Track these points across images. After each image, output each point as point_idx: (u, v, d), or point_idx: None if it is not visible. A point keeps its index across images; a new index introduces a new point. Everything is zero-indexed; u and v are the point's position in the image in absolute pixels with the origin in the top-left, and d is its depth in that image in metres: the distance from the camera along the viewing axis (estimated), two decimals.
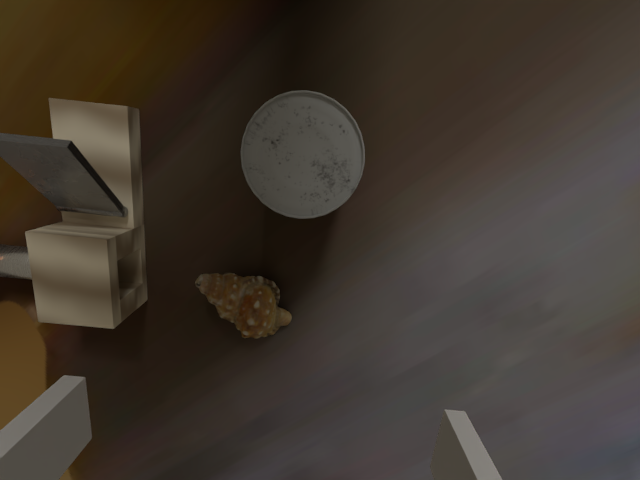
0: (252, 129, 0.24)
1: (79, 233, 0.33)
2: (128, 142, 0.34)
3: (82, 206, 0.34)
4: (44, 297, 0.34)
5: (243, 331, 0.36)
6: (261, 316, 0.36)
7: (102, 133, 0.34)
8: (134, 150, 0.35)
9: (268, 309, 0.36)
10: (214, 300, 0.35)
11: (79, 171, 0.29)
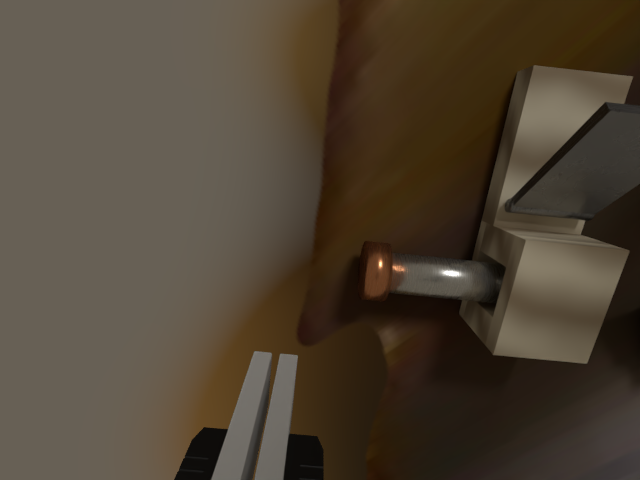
0: None
1: (573, 241, 0.25)
2: None
3: (552, 206, 0.27)
4: (514, 324, 0.26)
5: None
6: None
7: (586, 111, 0.26)
8: None
9: None
10: None
11: None
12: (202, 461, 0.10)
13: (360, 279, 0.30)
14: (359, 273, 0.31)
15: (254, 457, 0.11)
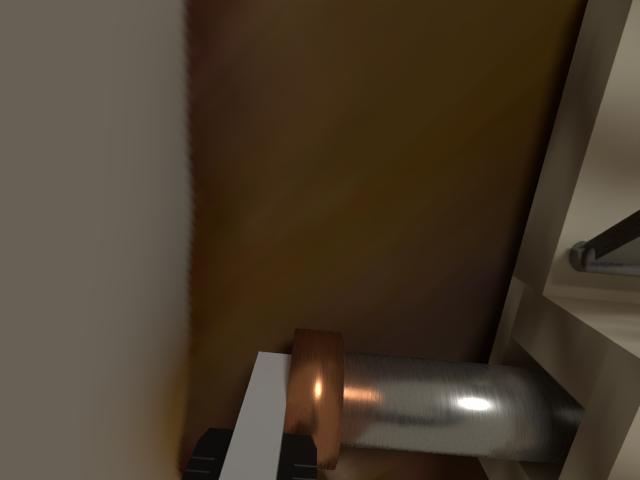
0: None
1: None
2: None
3: None
4: None
5: None
6: None
7: None
8: None
9: None
10: None
11: None
12: (209, 461, 0.10)
13: None
14: None
15: None
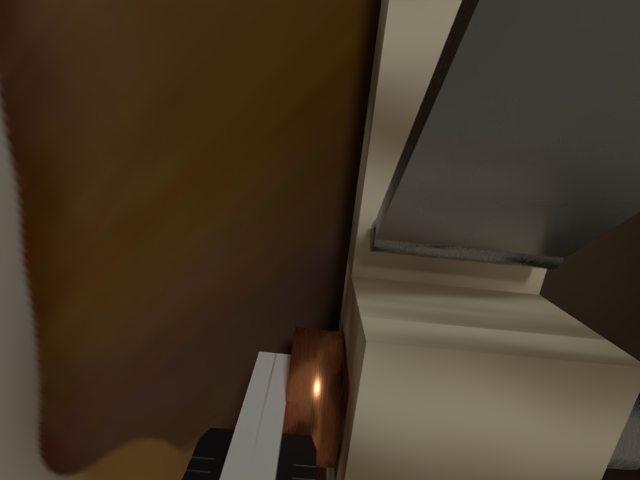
0: None
1: (505, 334, 0.10)
2: None
3: (464, 241, 0.11)
4: None
5: None
6: None
7: None
8: None
9: None
10: None
11: None
12: (209, 461, 0.10)
13: None
14: None
15: None
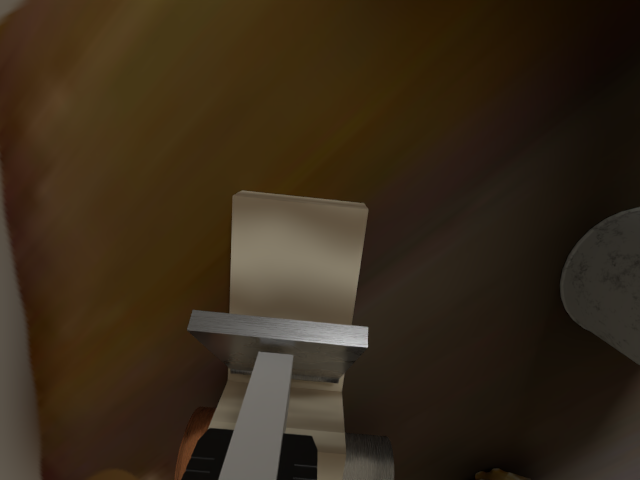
0: None
1: (286, 431, 0.19)
2: (359, 266, 0.20)
3: None
4: None
5: None
6: None
7: (316, 251, 0.20)
8: None
9: None
10: None
11: (339, 360, 0.15)
12: (208, 462, 0.10)
13: None
14: None
15: None
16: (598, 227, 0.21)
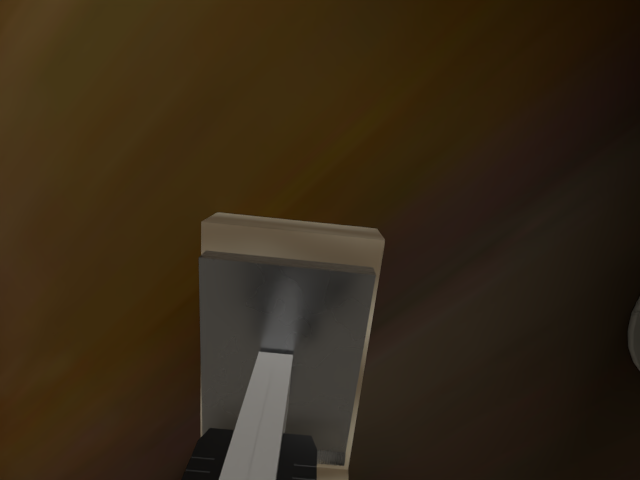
0: None
1: None
2: (372, 314, 0.15)
3: None
4: None
5: None
6: None
7: None
8: None
9: None
10: None
11: (347, 338, 0.14)
12: (209, 462, 0.10)
13: None
14: None
15: None
16: None
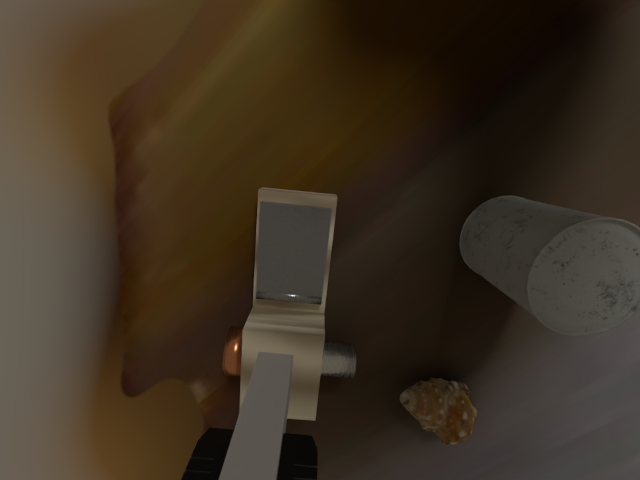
0: (544, 252, 0.24)
1: (290, 327, 0.32)
2: (333, 231, 0.33)
3: (285, 290, 0.34)
4: None
5: (451, 442, 0.36)
6: (468, 425, 0.36)
7: None
8: None
9: (472, 416, 0.37)
10: (423, 417, 0.36)
11: (321, 238, 0.32)
12: (208, 461, 0.10)
13: None
14: None
15: None
16: (478, 208, 0.35)
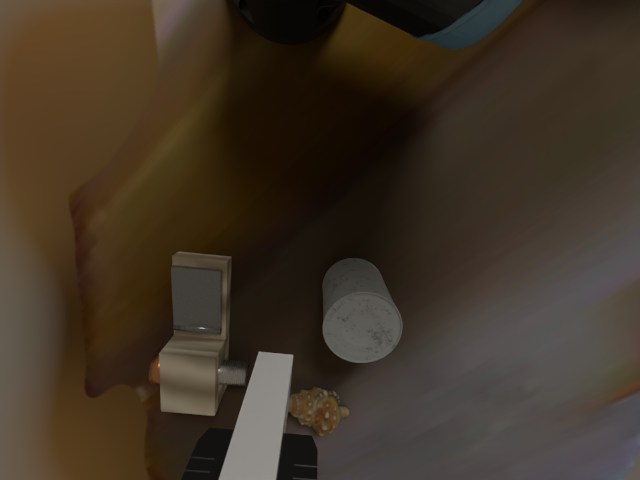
0: (330, 312, 0.38)
1: (194, 351, 0.47)
2: (226, 284, 0.48)
3: (194, 324, 0.48)
4: (167, 395, 0.47)
5: (319, 434, 0.51)
6: (331, 422, 0.51)
7: None
8: (228, 286, 0.49)
9: (334, 416, 0.51)
10: (297, 416, 0.50)
11: (215, 290, 0.46)
12: (208, 461, 0.10)
13: None
14: None
15: None
16: (333, 266, 0.49)
